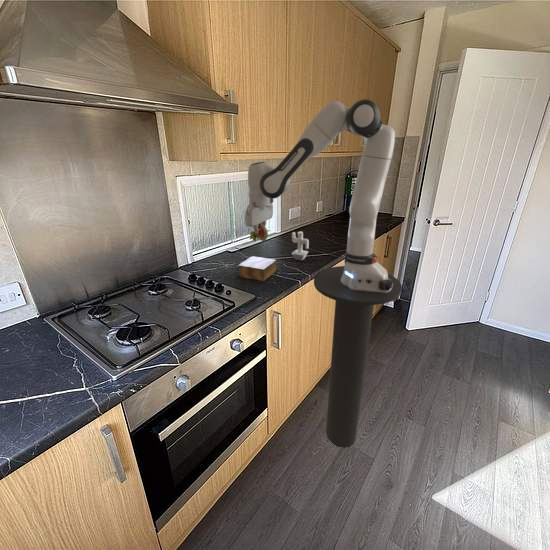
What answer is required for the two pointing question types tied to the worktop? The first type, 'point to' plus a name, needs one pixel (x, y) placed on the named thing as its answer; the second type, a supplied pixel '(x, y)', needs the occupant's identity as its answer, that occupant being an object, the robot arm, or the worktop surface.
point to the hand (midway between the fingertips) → (260, 231)
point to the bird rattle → (260, 233)
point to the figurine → (300, 246)
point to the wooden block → (257, 268)
